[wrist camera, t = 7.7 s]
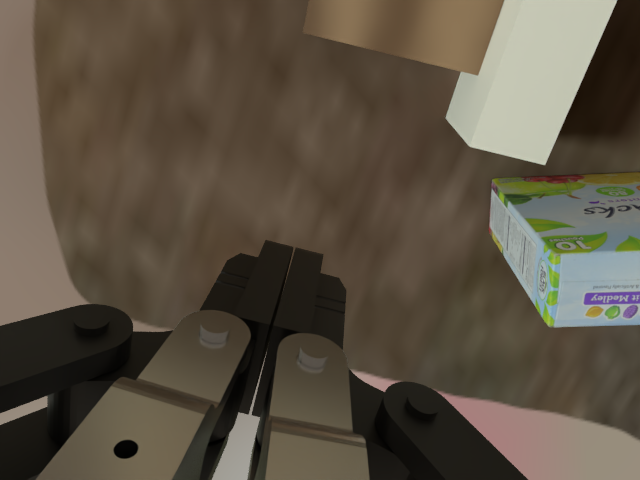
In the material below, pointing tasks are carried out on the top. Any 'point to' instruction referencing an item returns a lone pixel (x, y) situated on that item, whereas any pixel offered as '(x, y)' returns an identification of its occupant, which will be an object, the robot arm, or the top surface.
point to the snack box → (572, 244)
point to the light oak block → (411, 28)
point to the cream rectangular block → (528, 76)
